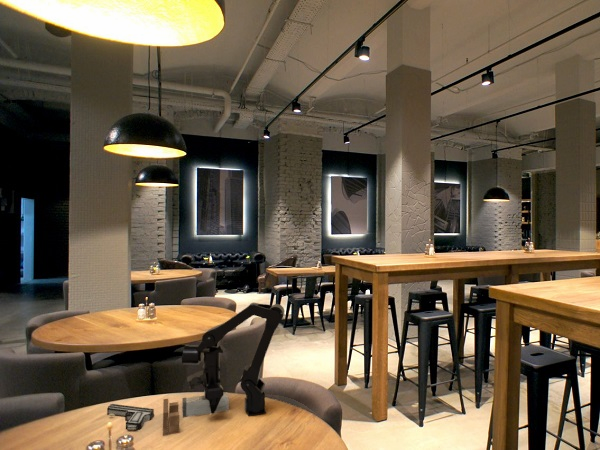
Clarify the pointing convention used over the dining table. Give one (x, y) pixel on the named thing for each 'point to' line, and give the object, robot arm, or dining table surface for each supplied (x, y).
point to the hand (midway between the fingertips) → (211, 407)
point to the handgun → (131, 415)
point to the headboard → (170, 417)
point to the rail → (202, 405)
